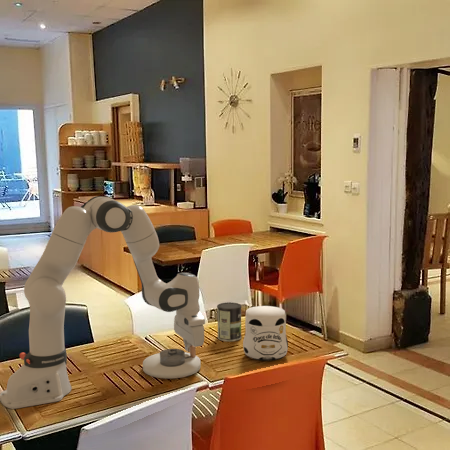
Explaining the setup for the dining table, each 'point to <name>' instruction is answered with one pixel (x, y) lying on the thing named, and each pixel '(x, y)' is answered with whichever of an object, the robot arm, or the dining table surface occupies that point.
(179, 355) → the iron cover
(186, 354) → the crank wheel
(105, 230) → the robot arm
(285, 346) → the milk container
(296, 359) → the dining table surface
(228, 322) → the coffee can
